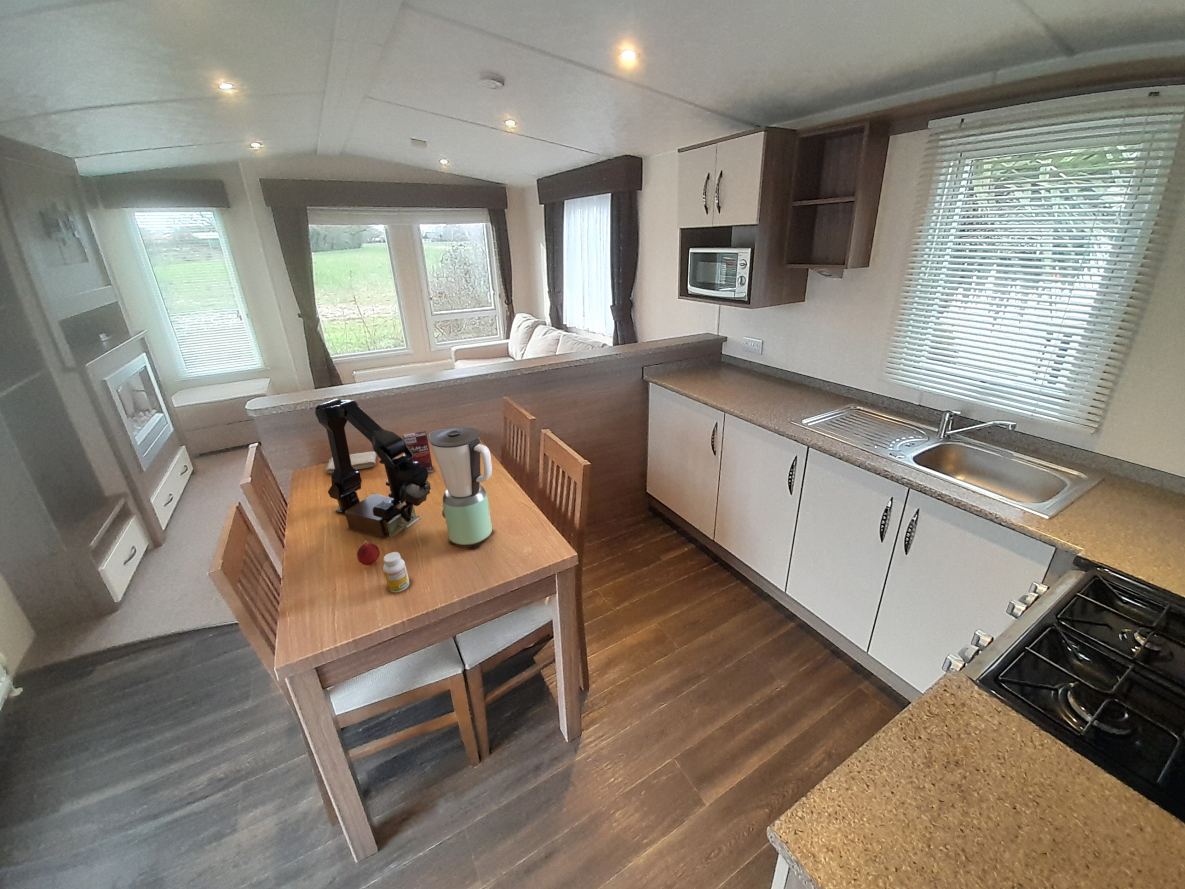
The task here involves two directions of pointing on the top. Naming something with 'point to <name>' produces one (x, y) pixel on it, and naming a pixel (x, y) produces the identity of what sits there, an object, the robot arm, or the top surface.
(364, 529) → the cabinet
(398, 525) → the drawer
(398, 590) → the supplement bottle
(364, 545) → the onion
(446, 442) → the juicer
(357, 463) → the washcloth
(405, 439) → the supplement box
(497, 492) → the top surface
